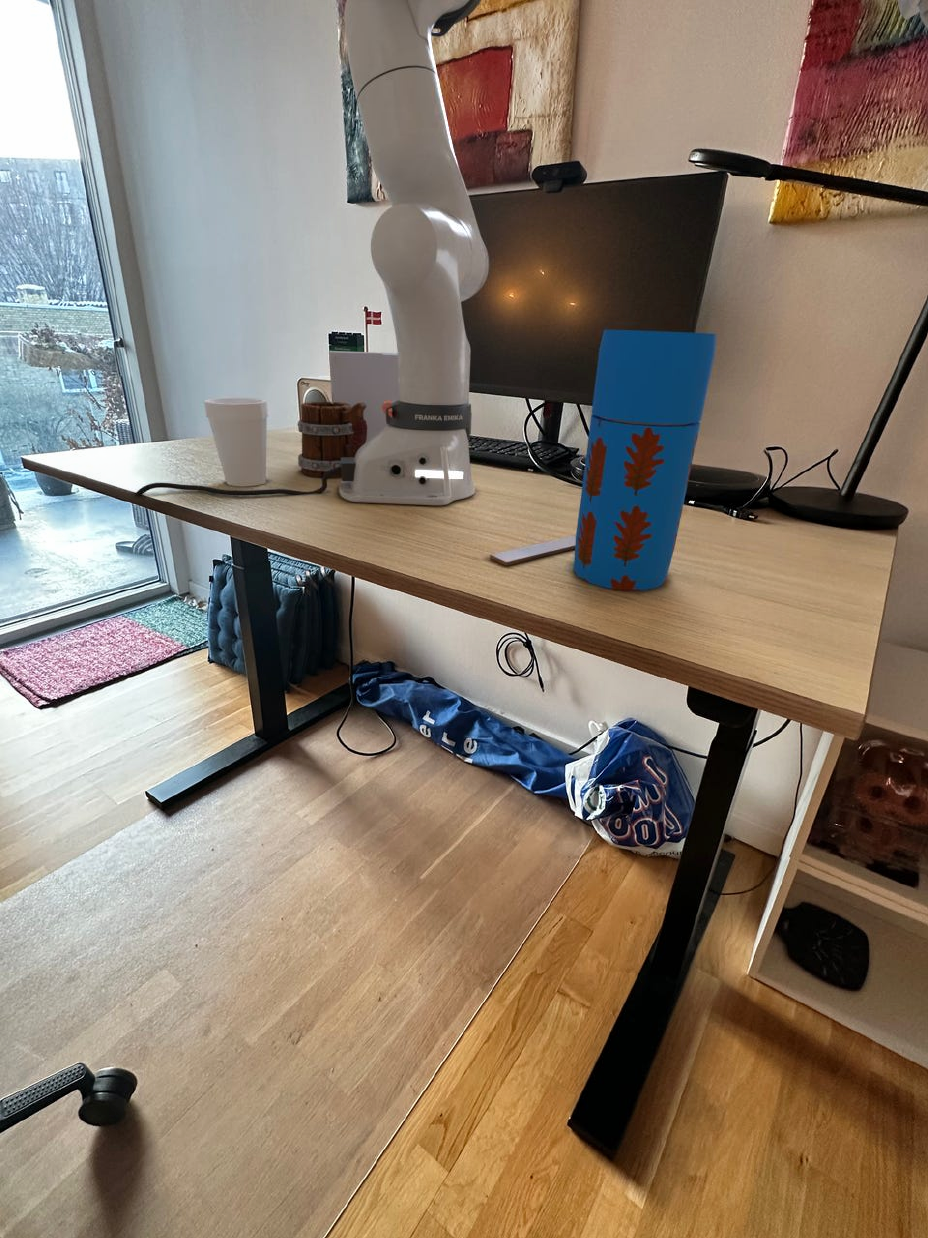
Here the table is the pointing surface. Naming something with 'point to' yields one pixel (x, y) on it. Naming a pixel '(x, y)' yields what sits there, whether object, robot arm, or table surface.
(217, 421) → the foam cup
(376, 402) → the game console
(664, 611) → the table surface
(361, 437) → the mug
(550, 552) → the ruler
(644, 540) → the thermos
